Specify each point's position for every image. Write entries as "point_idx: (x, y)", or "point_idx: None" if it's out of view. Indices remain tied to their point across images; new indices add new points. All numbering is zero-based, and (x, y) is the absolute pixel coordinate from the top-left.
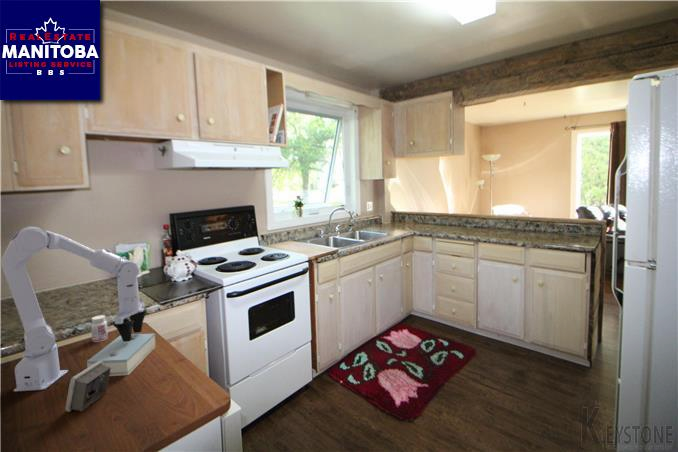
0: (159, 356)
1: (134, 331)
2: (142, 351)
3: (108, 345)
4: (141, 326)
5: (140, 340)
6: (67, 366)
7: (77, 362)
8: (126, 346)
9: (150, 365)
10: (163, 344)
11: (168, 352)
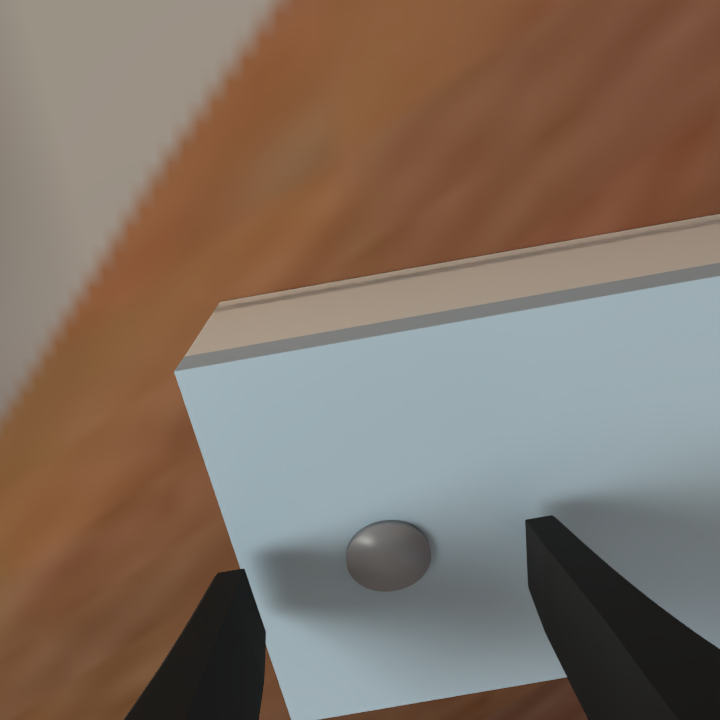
0: (461, 84)
1: (262, 643)
2: (571, 269)
3: None
4: (207, 636)
5: (445, 421)
6: (580, 717)
7: (529, 704)
8: (628, 477)
9: (685, 58)
10: (143, 242)
11: (350, 16)
